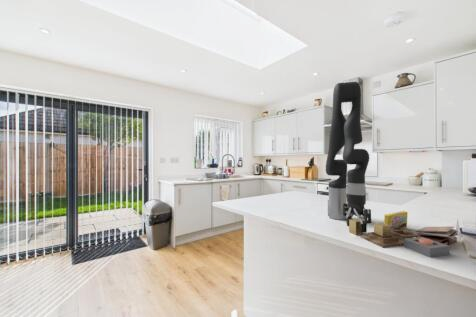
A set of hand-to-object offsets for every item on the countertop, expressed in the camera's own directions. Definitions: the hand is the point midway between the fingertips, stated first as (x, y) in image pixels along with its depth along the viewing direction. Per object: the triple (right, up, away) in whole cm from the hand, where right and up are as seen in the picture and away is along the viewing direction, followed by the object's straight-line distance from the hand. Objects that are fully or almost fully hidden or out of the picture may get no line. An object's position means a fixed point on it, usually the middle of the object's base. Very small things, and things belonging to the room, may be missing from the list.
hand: (356, 229), depth 95 cm
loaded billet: (+6, -2, -9) cm, 11 cm away
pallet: (+11, -2, -8) cm, 14 cm away
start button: (+15, -1, -18) cm, 24 cm away
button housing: (+15, -2, -18) cm, 24 cm away
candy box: (+21, -2, +4) cm, 21 cm away
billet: (0, -2, 0) cm, 2 cm away
